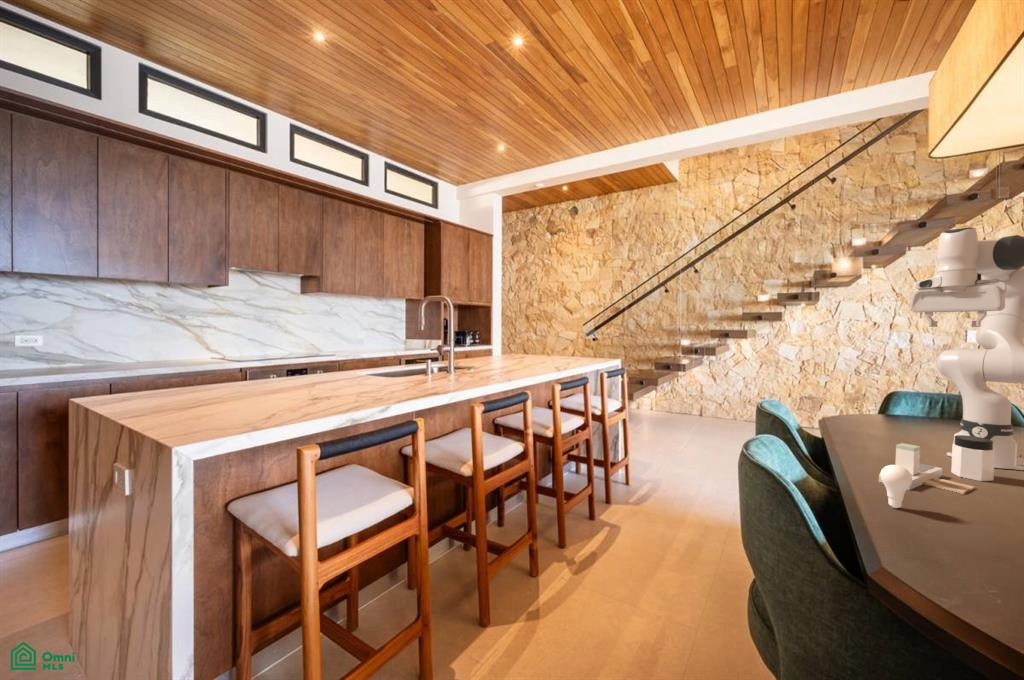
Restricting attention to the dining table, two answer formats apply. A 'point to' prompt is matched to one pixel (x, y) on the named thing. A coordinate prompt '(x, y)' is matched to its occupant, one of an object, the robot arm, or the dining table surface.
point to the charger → (908, 457)
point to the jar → (973, 458)
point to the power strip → (923, 475)
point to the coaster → (949, 485)
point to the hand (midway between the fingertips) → (953, 326)
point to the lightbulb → (895, 483)
